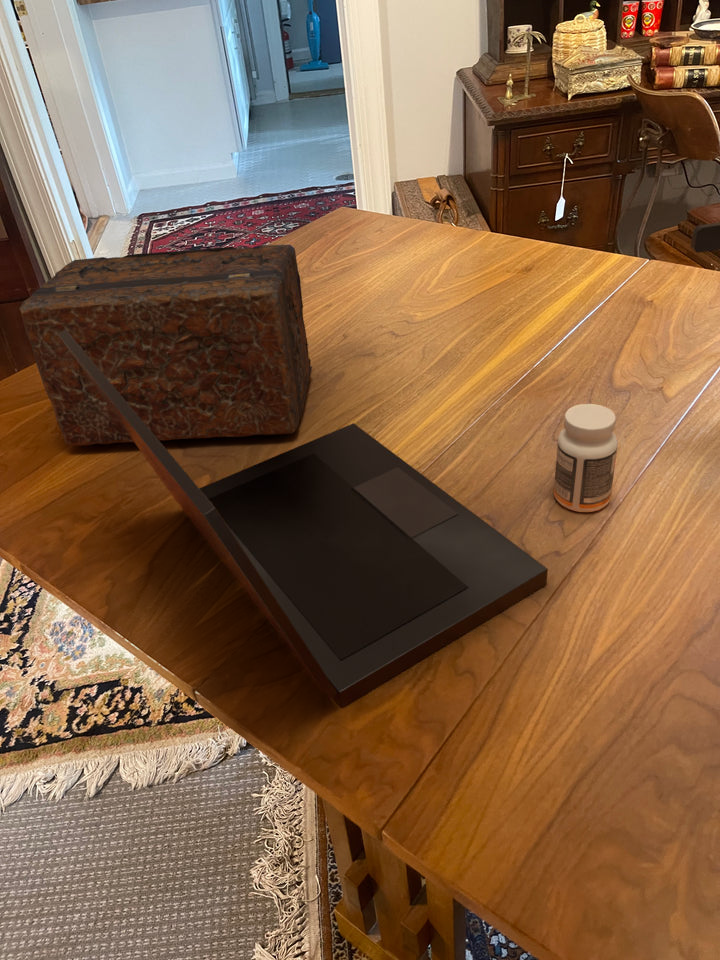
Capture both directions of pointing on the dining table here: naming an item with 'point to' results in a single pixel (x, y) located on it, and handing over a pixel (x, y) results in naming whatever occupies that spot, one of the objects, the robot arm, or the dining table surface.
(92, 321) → the decorative box
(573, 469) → the pill bottle
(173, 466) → the laptop screen
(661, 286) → the dining table surface
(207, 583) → the dining table surface
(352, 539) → the laptop
